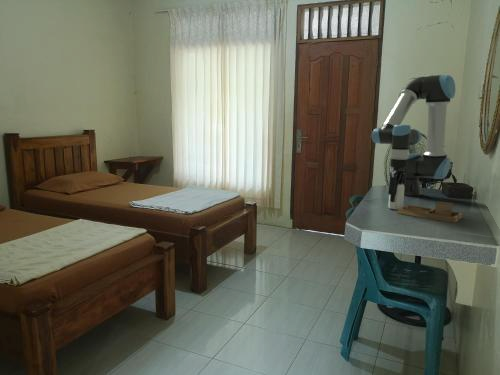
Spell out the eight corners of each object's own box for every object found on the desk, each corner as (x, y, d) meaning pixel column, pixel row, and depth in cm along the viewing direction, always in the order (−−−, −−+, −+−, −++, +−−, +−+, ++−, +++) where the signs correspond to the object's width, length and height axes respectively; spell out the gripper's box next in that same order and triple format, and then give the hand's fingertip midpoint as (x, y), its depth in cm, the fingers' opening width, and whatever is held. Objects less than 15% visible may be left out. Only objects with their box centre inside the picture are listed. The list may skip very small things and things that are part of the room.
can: (403, 210, 178) (406, 184, 176) (389, 209, 180) (391, 184, 178) (401, 207, 185) (403, 182, 183) (387, 206, 186) (389, 181, 184)
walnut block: (436, 215, 167) (437, 201, 166) (451, 217, 164) (453, 203, 163) (434, 218, 162) (435, 203, 161) (450, 220, 159) (451, 205, 158)
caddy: (407, 210, 178) (407, 204, 178) (462, 219, 163) (462, 213, 163) (397, 214, 170) (397, 208, 169) (454, 224, 155) (455, 217, 154)
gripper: (399, 156, 188) (395, 203, 192) (382, 159, 174) (379, 209, 177) (415, 157, 183) (410, 205, 187) (399, 160, 169) (395, 212, 172)
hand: (395, 207), depth 182 cm, fingers closed on can, 6 cm apart
